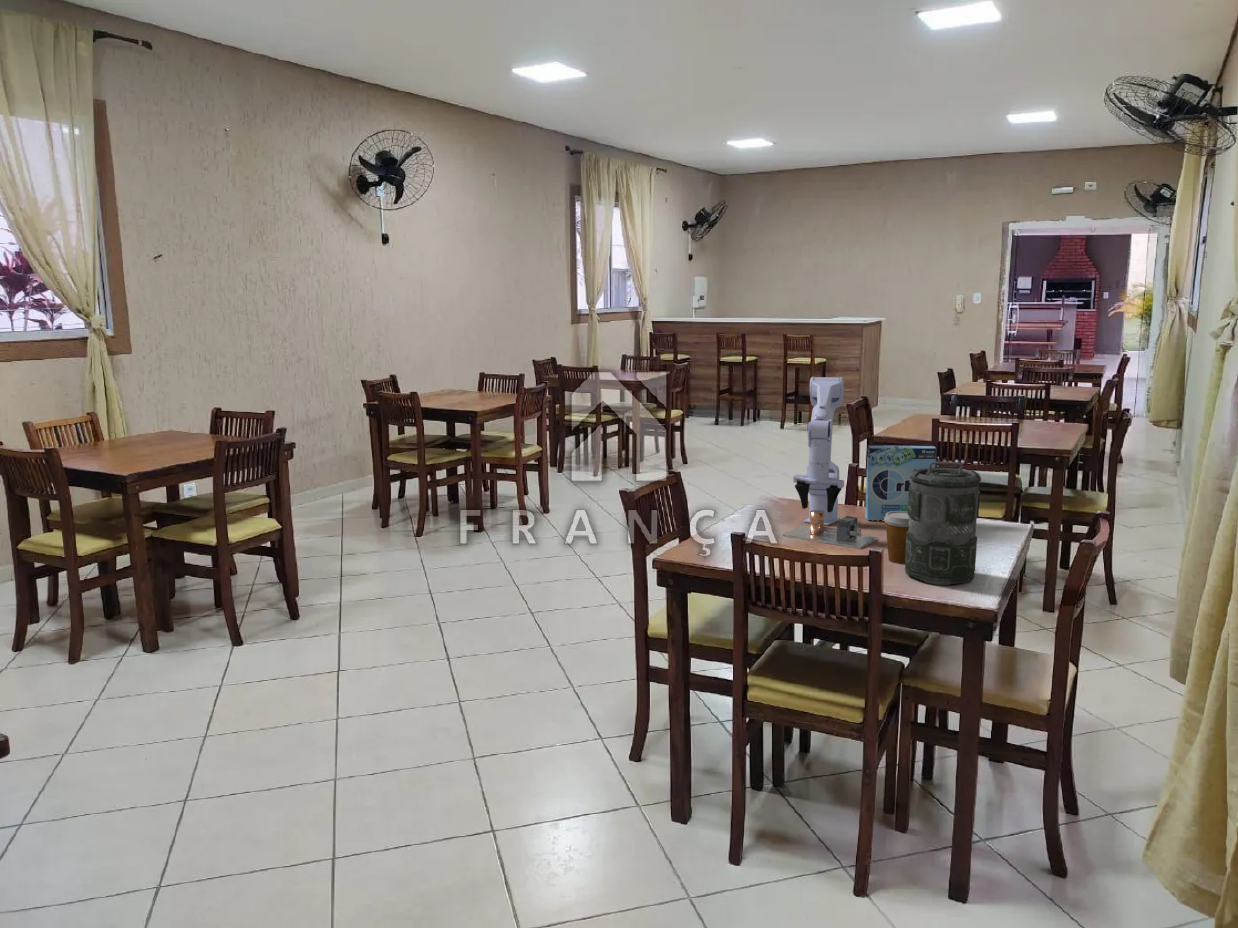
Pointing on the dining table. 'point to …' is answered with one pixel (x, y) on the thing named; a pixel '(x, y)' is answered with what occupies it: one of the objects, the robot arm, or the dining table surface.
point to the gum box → (892, 476)
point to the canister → (942, 524)
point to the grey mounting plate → (835, 534)
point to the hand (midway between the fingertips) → (817, 509)
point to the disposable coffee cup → (896, 534)
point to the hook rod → (818, 524)
